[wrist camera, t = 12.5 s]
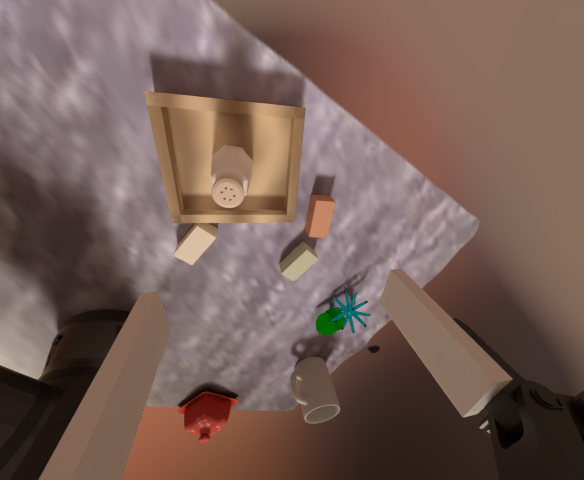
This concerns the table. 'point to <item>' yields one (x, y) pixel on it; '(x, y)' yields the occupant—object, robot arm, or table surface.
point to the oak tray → (214, 135)
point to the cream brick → (195, 242)
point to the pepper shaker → (230, 175)
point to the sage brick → (298, 261)
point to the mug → (314, 390)
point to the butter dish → (206, 414)
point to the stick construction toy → (339, 316)
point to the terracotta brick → (319, 215)
